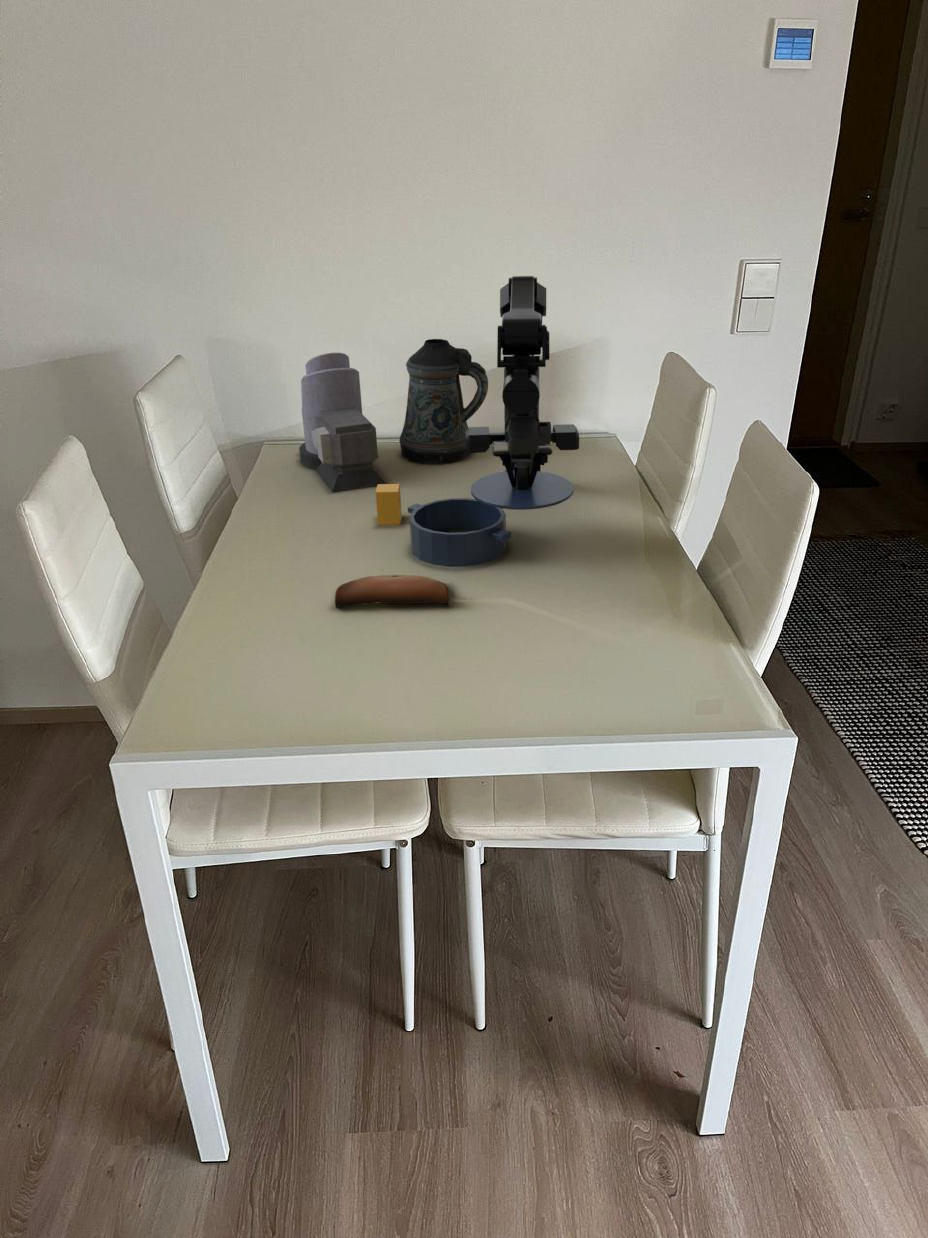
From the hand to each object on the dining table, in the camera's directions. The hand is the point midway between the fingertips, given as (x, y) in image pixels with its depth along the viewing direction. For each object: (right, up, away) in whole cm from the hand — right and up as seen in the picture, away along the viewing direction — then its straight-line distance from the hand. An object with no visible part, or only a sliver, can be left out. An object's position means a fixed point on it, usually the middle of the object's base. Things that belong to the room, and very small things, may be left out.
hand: (521, 486), depth 165 cm
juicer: (-37, +11, +47) cm, 61 cm away
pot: (-11, -10, +6) cm, 16 cm away
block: (-24, -4, +18) cm, 30 cm away
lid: (0, -1, 0) cm, 1 cm away
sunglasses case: (-21, -19, -10) cm, 30 cm away
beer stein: (-15, +15, +54) cm, 58 cm away
